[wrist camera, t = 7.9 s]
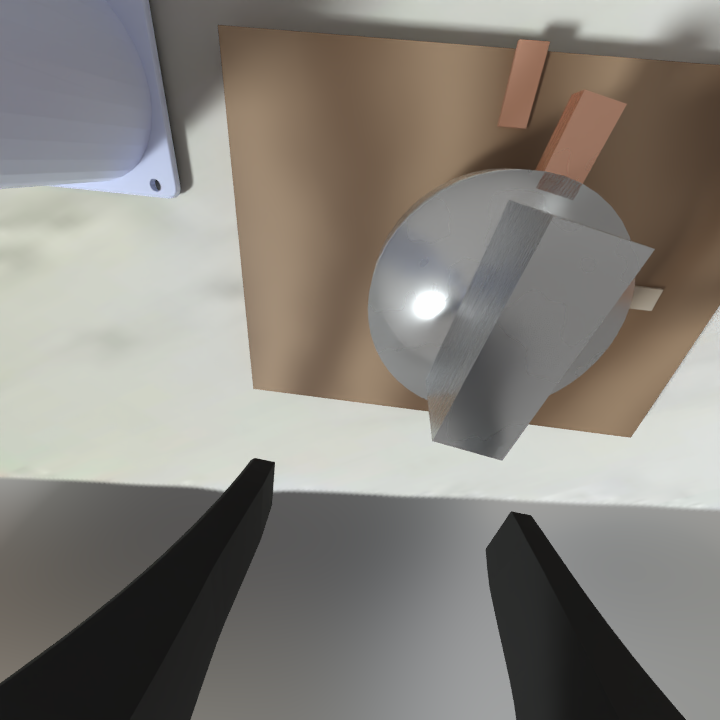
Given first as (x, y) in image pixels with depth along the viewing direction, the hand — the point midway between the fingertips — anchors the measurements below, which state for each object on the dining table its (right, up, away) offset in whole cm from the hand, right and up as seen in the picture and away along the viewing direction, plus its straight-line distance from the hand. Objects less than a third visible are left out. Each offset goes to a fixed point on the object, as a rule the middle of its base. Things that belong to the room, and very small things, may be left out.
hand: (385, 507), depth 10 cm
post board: (+5, +9, +6) cm, 12 cm away
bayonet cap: (+4, +8, +3) cm, 10 cm away
